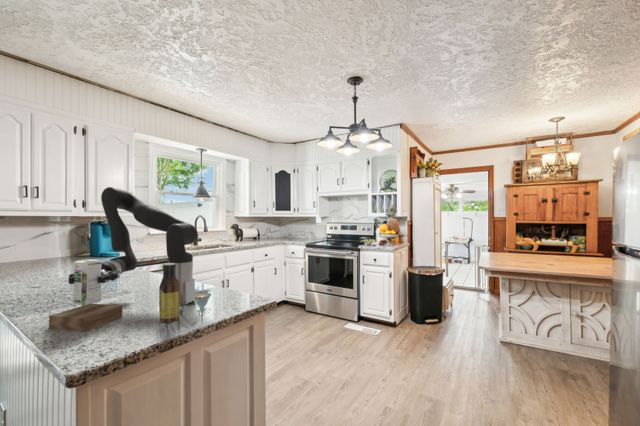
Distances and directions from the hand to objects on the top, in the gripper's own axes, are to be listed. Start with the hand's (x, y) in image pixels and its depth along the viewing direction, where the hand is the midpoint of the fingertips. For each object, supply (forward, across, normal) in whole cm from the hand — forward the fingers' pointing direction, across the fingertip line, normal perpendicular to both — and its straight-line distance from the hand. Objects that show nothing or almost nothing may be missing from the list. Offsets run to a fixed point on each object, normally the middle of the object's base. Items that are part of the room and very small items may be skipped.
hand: (84, 280), depth 100 cm
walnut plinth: (-2, 0, +15) cm, 15 cm away
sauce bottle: (+3, +27, +15) cm, 31 cm away
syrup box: (-2, 0, +8) cm, 8 cm away
